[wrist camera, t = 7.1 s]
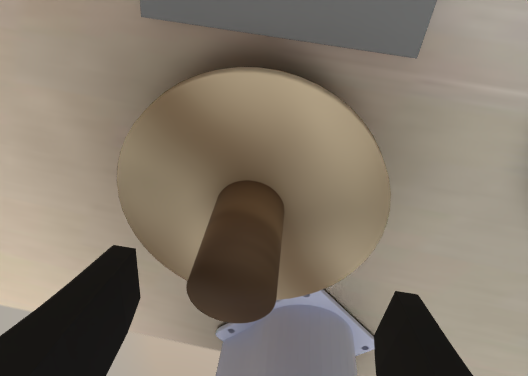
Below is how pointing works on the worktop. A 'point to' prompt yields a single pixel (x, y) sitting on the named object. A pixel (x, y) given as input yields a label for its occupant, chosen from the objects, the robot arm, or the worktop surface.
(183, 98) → the oak lid
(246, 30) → the charcoal mat
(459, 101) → the worktop surface
